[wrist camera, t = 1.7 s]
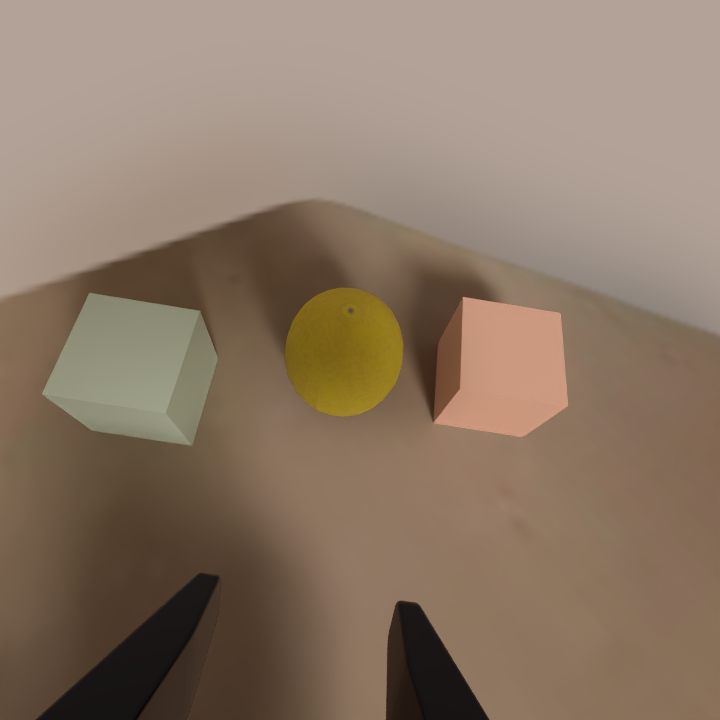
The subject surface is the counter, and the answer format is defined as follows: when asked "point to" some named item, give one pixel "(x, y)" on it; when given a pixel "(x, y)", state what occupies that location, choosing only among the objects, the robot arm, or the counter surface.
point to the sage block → (135, 369)
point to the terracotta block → (500, 368)
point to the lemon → (344, 351)
